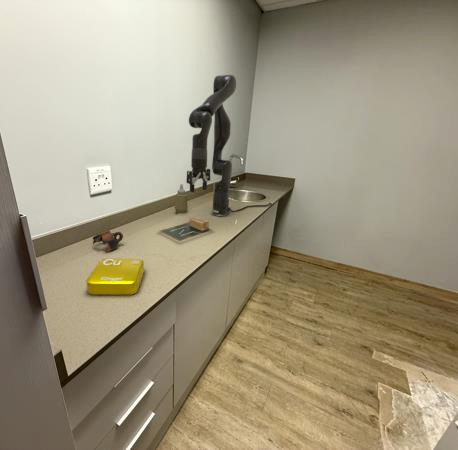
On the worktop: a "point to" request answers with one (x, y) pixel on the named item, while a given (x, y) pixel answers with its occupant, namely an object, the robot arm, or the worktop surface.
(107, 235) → the brown teapot
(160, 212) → the worktop surface
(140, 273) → the element tile
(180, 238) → the chalkboard
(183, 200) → the squeeze bottle
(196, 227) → the eraser
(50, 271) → the worktop surface
